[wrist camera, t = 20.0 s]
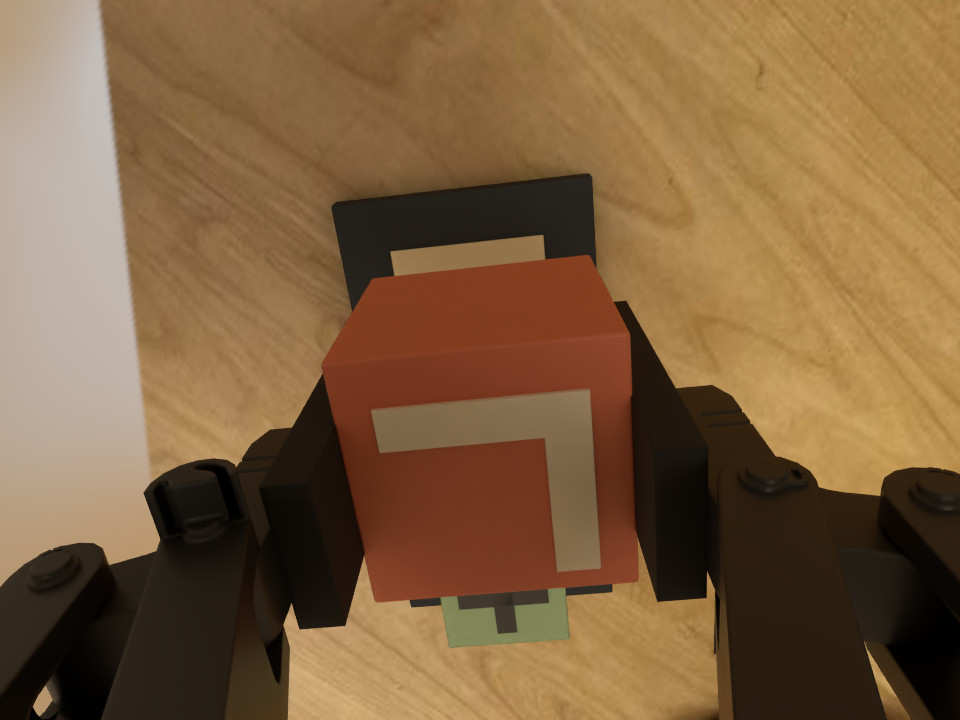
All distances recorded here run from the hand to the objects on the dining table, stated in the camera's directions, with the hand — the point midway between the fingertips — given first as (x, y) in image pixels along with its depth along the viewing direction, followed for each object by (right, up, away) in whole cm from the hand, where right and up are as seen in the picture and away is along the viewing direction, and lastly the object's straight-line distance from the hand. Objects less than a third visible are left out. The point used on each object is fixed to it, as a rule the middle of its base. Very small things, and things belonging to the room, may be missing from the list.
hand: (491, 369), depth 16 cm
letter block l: (0, 0, 0) cm, 0 cm away
